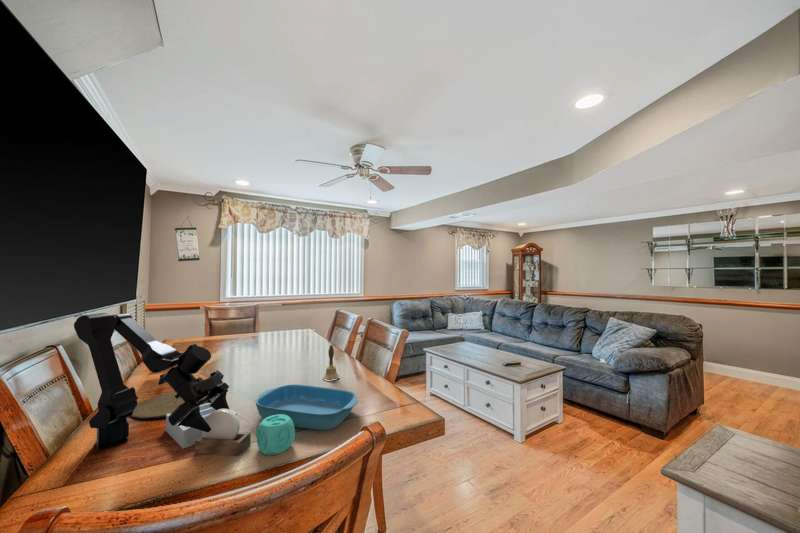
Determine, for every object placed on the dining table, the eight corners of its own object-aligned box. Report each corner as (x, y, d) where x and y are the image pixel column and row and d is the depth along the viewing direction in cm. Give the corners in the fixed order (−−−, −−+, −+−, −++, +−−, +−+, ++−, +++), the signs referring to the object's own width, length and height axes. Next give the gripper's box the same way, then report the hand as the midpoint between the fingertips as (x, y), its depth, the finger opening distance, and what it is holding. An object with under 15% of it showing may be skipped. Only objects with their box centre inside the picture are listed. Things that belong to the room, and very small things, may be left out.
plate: (237, 444, 90) (232, 409, 91) (204, 449, 91) (199, 414, 91) (242, 440, 93) (237, 406, 93) (210, 444, 93) (205, 410, 94)
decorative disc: (178, 383, 140) (237, 385, 134) (178, 391, 140) (237, 393, 134) (106, 411, 112) (177, 415, 106) (106, 421, 112) (177, 425, 106)
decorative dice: (281, 437, 98) (281, 411, 99) (295, 447, 93) (295, 419, 93) (255, 448, 92) (256, 420, 92) (268, 458, 87) (269, 429, 87)
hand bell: (319, 380, 151) (319, 346, 151) (327, 375, 159) (328, 343, 159) (334, 382, 148) (335, 348, 149) (342, 376, 156) (343, 344, 156)
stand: (194, 453, 89) (195, 440, 89) (209, 442, 95) (209, 430, 95) (238, 455, 88) (239, 442, 89) (250, 444, 94) (250, 432, 94)
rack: (183, 448, 92) (183, 430, 92) (165, 430, 102) (166, 414, 102) (236, 429, 103) (236, 413, 103) (216, 414, 114) (216, 400, 114)
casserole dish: (366, 409, 119) (366, 390, 120) (341, 439, 98) (341, 416, 98) (281, 399, 129) (281, 381, 129) (241, 424, 107) (241, 403, 107)
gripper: (179, 375, 84) (218, 418, 83) (223, 356, 102) (256, 392, 101) (150, 404, 84) (189, 448, 83) (200, 380, 103) (232, 416, 102)
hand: (220, 423), depth 92 cm, fingers open, 9 cm apart
